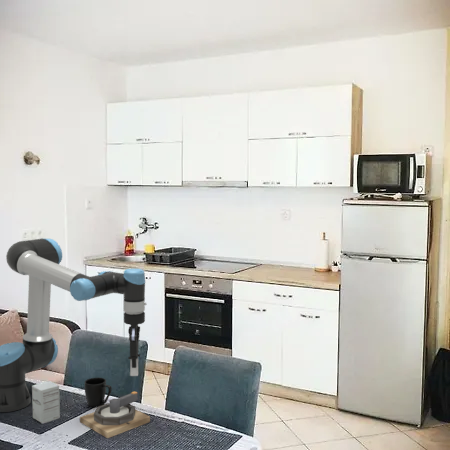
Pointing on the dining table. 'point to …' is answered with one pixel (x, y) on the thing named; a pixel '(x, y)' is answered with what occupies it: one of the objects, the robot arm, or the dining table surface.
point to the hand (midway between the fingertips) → (134, 375)
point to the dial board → (114, 428)
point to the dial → (119, 405)
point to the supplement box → (45, 402)
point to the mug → (96, 391)
